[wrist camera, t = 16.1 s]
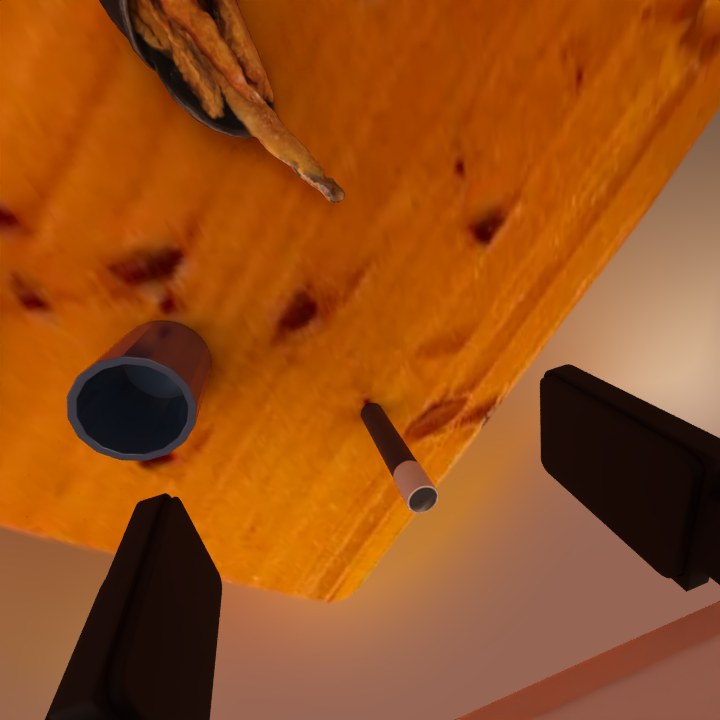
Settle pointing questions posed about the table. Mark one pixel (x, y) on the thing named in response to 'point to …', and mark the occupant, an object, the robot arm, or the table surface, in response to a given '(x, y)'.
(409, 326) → the table surface
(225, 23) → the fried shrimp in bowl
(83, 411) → the pen cup
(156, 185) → the table surface
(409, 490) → the marker pen
